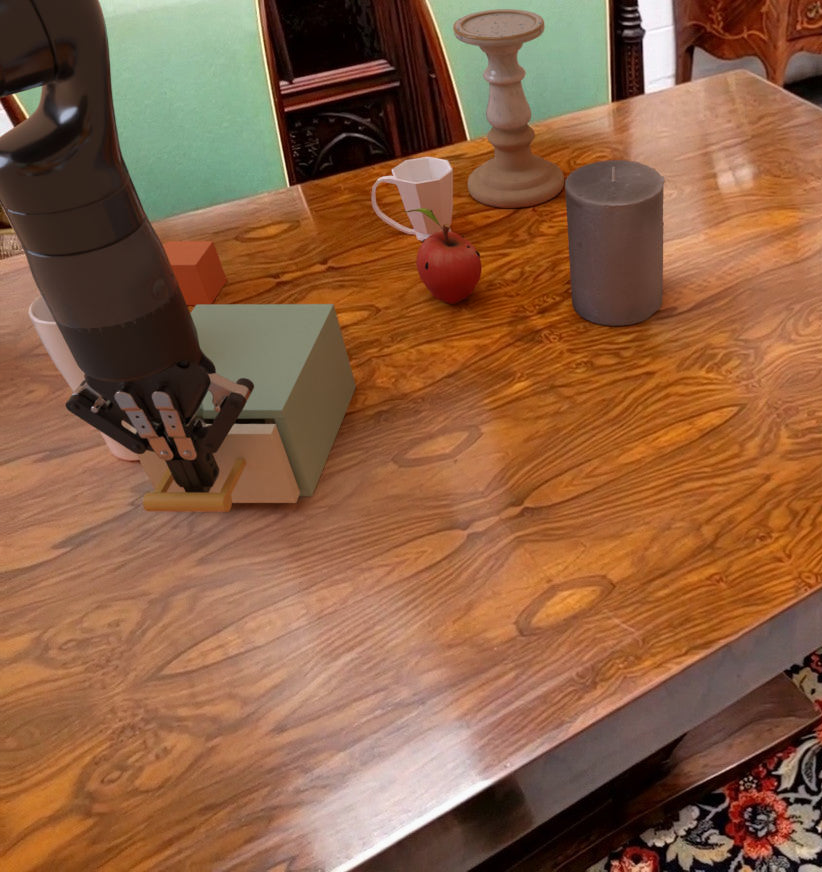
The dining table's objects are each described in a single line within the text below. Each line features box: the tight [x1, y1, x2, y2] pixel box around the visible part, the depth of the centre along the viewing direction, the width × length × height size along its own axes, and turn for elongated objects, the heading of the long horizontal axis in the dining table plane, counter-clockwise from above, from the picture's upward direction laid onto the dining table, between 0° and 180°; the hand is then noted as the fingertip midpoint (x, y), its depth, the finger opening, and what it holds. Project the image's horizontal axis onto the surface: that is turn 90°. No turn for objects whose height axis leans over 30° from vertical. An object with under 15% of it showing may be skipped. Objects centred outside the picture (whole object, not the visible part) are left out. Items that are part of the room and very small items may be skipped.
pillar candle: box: [564, 159, 666, 327], centre depth 94 cm, size 10×10×15 cm
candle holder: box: [452, 8, 565, 209], centre depth 113 cm, size 12×12×20 cm
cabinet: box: [190, 303, 357, 497], centre depth 80 cm, size 15×12×9 cm
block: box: [163, 240, 228, 306], centre depth 100 cm, size 5×5×5 cm
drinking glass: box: [28, 294, 140, 462], centre depth 78 cm, size 7×7×15 cm
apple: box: [402, 208, 482, 305], centre depth 97 cm, size 8×7×10 cm
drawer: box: [130, 419, 300, 513], centre depth 76 cm, size 19×11×7 cm, turn 179°
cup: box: [370, 156, 454, 242], centre depth 108 cm, size 7×10×8 cm
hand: (202, 486), depth 71 cm, fingers closed
